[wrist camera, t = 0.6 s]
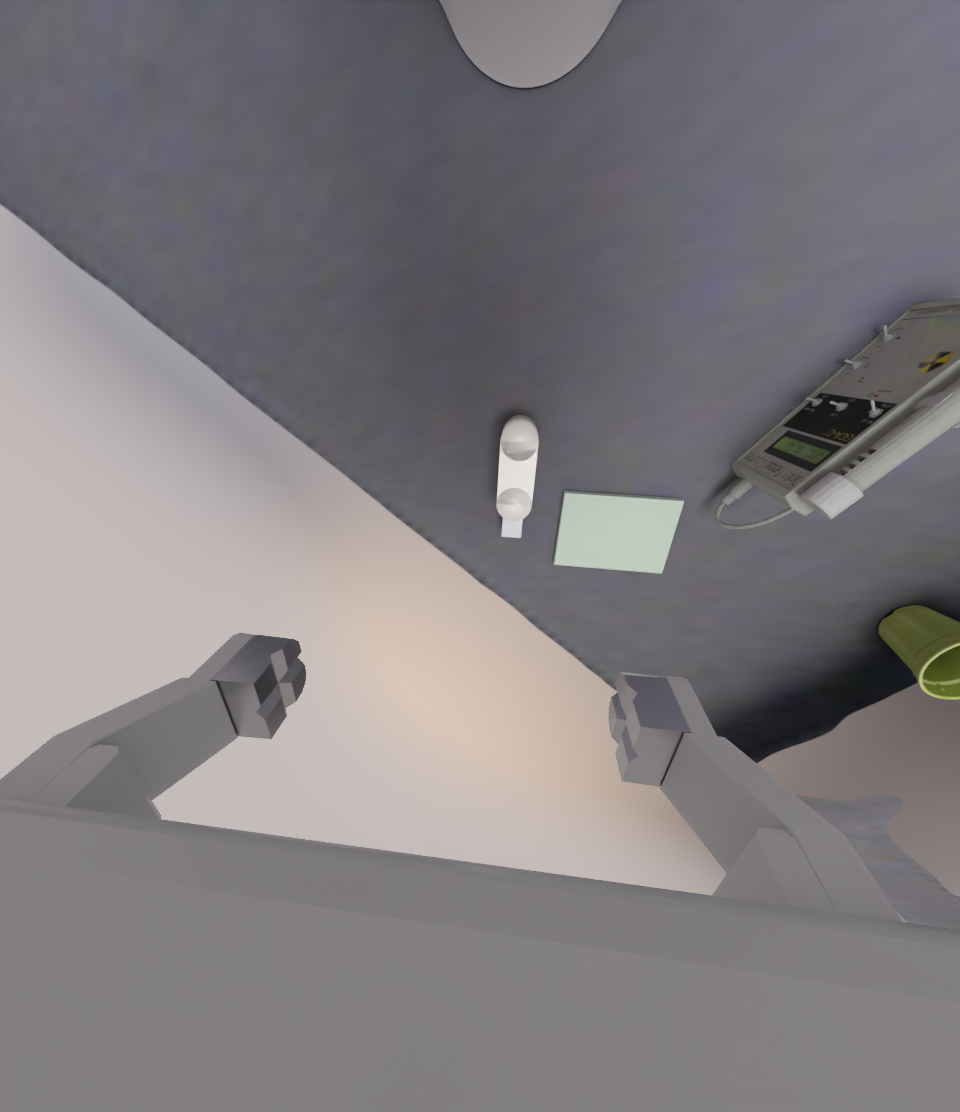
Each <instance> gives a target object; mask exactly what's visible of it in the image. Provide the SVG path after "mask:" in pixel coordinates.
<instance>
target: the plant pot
mask: <svg viewBox="0 0 960 1112" xmlns="http://www.w3.org/2000/svg"><path fill="white" fill-rule="evenodd" d="M878 632H879V635H880V636H881V638H882V639H883V640H884V641H885V642H886V643H887V644H888V645H889V646H890V647H891V648H892V649H893V650H894V652H895V653H896V654H897V655H898V656H899V657H900V658H901V659H902V660H903V661H904V662H905V664H906V665H907V666H908V667H909V668H910V669H911V670H912V672H913V674H914V676H915V677H916V678H917V682H918V684H919V686H920V688H921V689H922V690H923V691H924V692H925V693H927V694H929V695H931V696H933V697H936V698H941V699H960V622H957V621H955V620H953V619H951V618H949V617H947V616H944V615H942V614H940V613H938V612H936V611H934V610H932V609H929V608H927V607H924V606H920V605H911V606H905V607H902V608H899V609H896V610H895V611H894V612H893V613H892V614H891V615H890V616H888V617H886V618H884V619H883V620H882V621H881V623H880V625H879V628H878Z"/></svg>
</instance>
